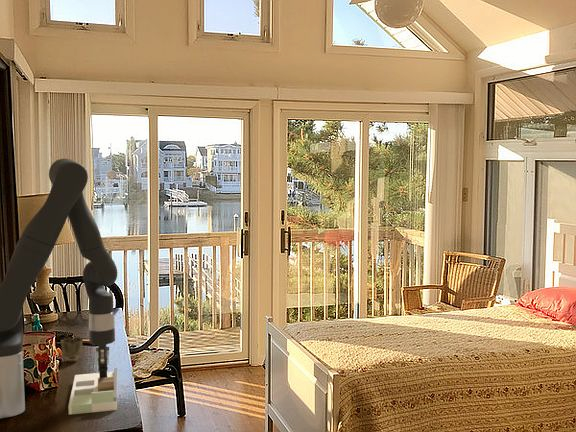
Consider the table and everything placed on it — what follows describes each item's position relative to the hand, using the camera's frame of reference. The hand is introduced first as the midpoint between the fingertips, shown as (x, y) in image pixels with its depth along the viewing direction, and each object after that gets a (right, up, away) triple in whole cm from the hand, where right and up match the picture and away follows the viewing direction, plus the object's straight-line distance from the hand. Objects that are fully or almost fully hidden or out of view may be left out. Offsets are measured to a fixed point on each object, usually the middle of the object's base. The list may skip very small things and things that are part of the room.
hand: (103, 382), depth 197 cm
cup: (-21, -1, +34) cm, 40 cm away
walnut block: (+2, -1, -4) cm, 4 cm away
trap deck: (-2, -3, -2) cm, 4 cm away
